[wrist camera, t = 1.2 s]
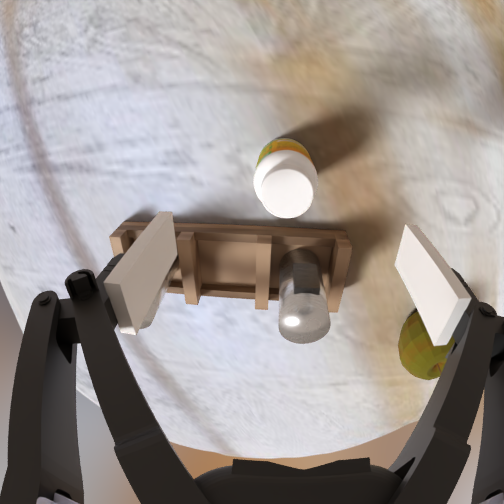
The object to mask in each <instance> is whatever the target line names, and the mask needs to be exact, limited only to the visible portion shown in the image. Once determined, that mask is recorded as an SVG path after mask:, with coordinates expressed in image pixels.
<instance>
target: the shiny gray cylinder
mask: <svg viewBox="0 0 504 504" xmlns="http://www.w3.org/2000/svg"><path fill="white" fill-rule="evenodd" d="M329 329H330V317H329V311H328V305H327V299H326V294H325V288H324V283H323V277H322V272H321V267H320V262H319V259H318V257H317V255H316V254H315V253H313V252H312V251H310V250H307V249H302V248H299V249H293V250H291V251H289V252H287V253H286V254H285V255H284V256H283V257H282V259H281V261H280V275H279V331H280V333H281V335H282V336H283V337H284V338H285V339H287V340H289V341H291V342H294V343H300V344H305V343H312V342H315V341H317V340H319V339H321V338H323V337H324V336H325V335H326V334H327V333H328V331H329Z"/></svg>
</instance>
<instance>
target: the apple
mask: <svg viewBox="0 0 504 504" xmlns="http://www.w3.org/2000/svg"><path fill="white" fill-rule="evenodd" d="M454 342H455V340H454V338H453V336H451V338H450V340H449V342H448V343H447V345H439V346H434V345H433V343H432V340H431V338H430V336H429V334H428V331H427V329H426V327H425V325H424V322H423V320H422V318H421V316H420V314H419V312H416V313H414V314H413V315H412V316H410V317H409V318H408V319H407V320H406V322H405V323H404V325H403V327H402V330H401V333H400V339H399V343H398V348H399V355H400V360H401V363H402V365H403V366H404V367H405V368H406V369H407V370H408V371H409V372H410V373H411V374H412V375H414V376H415V377H418V378H421V379H426V380H431V379H434V378H437V377H440V375H441V373H442V371H443V368H444V366H445V363H446V361H447V359H446V358H445V357H446V355H447V354H448V352H449V350H450V349H451V347H452V346H453V344H454Z"/></svg>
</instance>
